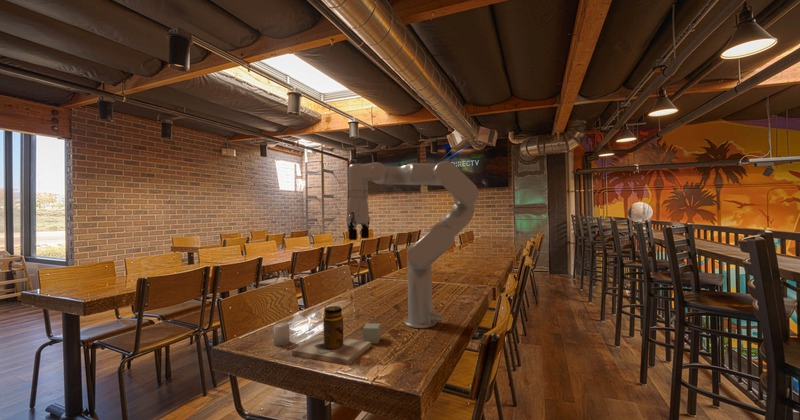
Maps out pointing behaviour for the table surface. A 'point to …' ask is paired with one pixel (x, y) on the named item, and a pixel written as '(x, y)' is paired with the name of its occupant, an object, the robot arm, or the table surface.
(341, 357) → the maple board
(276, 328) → the pale stubby cylinder
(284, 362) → the table surface
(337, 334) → the condiment
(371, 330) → the sage block
